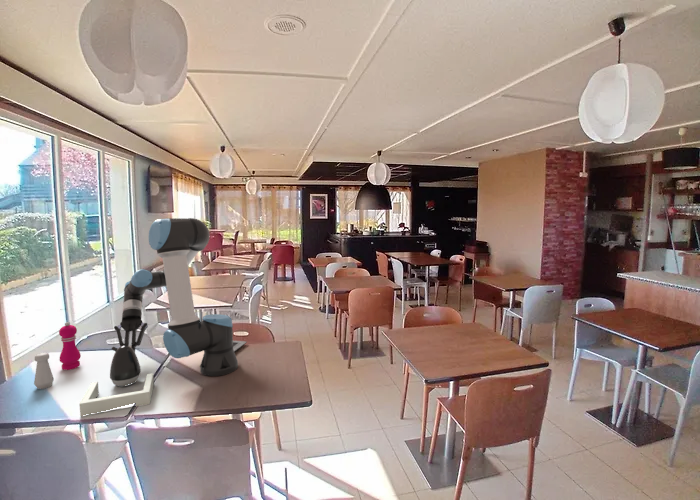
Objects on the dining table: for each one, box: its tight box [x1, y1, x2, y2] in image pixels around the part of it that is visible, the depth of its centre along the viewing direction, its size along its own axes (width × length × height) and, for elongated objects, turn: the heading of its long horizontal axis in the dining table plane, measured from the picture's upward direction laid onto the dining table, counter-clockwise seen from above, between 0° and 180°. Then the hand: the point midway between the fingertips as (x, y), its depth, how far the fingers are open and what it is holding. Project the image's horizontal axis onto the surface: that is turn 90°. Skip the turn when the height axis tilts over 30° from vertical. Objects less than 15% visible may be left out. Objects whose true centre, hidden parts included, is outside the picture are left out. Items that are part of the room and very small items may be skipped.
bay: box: [79, 372, 155, 417], centre depth 131 cm, size 16×20×4 cm
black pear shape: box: [109, 345, 142, 387], centre depth 142 cm, size 10×10×15 cm
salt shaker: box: [33, 352, 54, 390], centre depth 139 cm, size 6×6×13 cm
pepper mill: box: [58, 321, 82, 371], centre depth 156 cm, size 7×7×20 cm
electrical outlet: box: [233, 340, 248, 353], centre depth 178 cm, size 13×10×2 cm
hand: (128, 361), depth 152 cm, fingers closed
